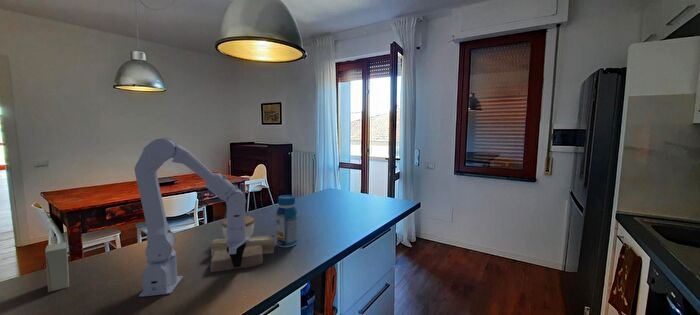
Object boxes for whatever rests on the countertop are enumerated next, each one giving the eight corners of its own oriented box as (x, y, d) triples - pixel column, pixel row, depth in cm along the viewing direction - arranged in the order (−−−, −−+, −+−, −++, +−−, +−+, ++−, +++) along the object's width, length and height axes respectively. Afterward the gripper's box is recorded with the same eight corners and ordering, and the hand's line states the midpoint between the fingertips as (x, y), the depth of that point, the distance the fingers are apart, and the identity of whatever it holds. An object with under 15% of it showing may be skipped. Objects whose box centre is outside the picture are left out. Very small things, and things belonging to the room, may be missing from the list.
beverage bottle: (295, 248, 111) (294, 199, 109) (274, 248, 111) (273, 198, 109) (299, 240, 120) (298, 194, 118) (279, 239, 119) (278, 194, 118)
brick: (210, 273, 91) (209, 259, 91) (213, 262, 99) (213, 249, 99) (263, 266, 96) (262, 253, 96) (262, 256, 104) (262, 244, 104)
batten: (273, 252, 106) (273, 239, 106) (211, 258, 102) (210, 243, 101) (274, 248, 110) (273, 235, 110) (214, 253, 106) (213, 239, 105)
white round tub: (254, 234, 126) (253, 210, 125) (255, 244, 114) (254, 218, 113) (223, 237, 121) (222, 213, 120) (221, 249, 110) (220, 221, 109)
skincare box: (49, 284, 83) (45, 245, 82) (70, 279, 86) (67, 241, 85) (47, 293, 79) (44, 251, 78) (69, 287, 82) (66, 247, 81)
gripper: (245, 233, 85) (246, 275, 86) (251, 218, 99) (252, 255, 100) (220, 234, 83) (222, 278, 85) (230, 220, 98) (231, 257, 99)
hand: (237, 266), depth 92 cm, fingers closed
